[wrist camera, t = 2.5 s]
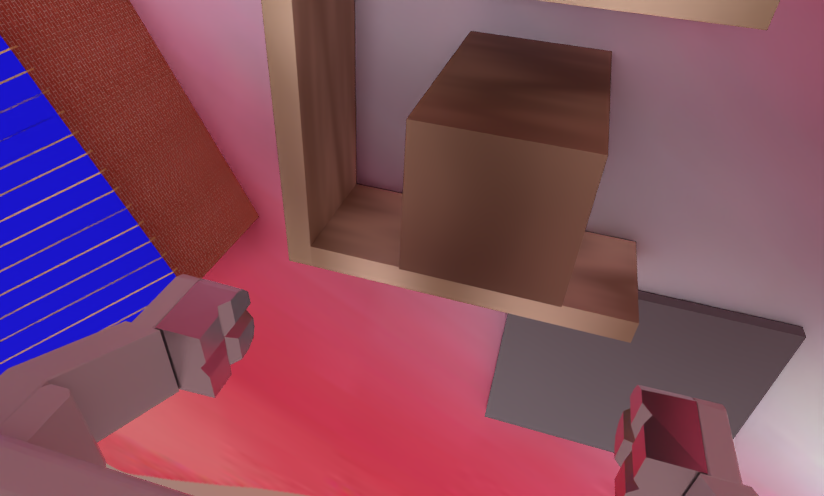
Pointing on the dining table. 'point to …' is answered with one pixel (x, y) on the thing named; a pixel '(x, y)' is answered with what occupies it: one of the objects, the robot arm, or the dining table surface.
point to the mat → (635, 367)
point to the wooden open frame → (382, 210)
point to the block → (506, 165)
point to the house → (98, 175)
